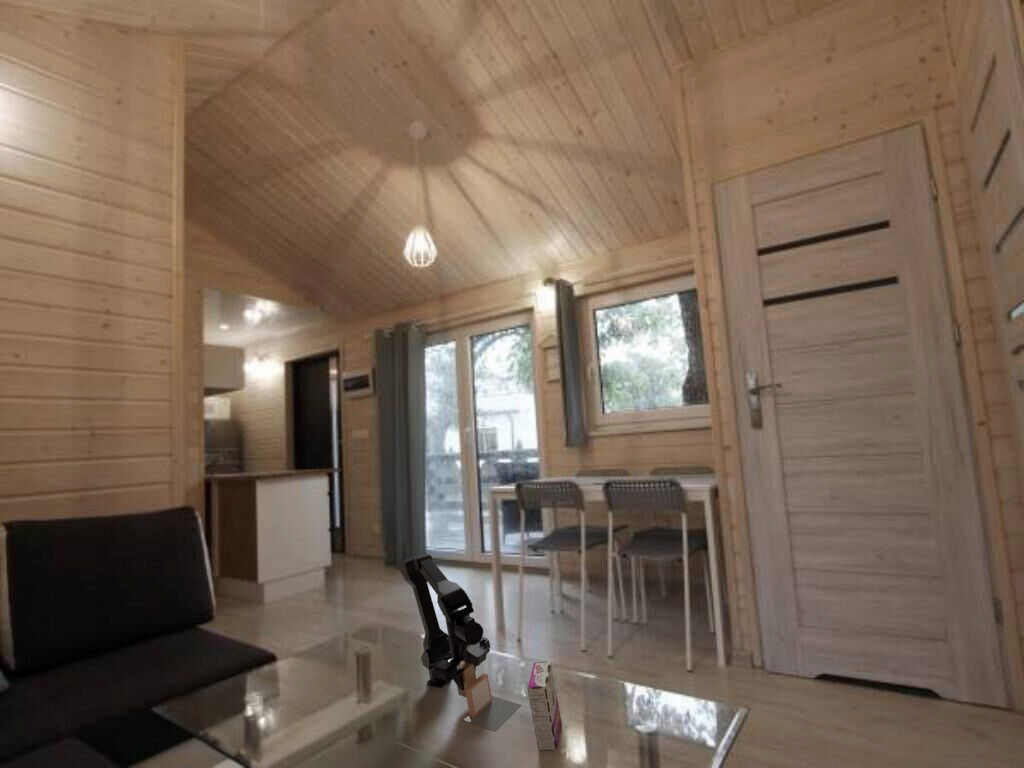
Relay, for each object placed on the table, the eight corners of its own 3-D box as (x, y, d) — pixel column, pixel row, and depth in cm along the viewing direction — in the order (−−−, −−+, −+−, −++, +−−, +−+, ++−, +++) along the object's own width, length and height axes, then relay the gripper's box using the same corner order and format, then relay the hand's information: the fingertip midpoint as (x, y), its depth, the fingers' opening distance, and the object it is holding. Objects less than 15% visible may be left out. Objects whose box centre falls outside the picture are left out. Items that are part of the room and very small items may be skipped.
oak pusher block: (458, 695, 158) (454, 667, 157) (467, 687, 161) (463, 660, 160) (469, 698, 155) (464, 670, 155) (478, 690, 158) (473, 663, 158)
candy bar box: (543, 721, 146) (533, 661, 146) (561, 721, 145) (551, 660, 145) (537, 751, 135) (526, 687, 135) (557, 751, 134) (546, 686, 134)
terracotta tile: (469, 716, 153) (465, 688, 153) (487, 699, 159) (483, 673, 159) (474, 718, 152) (469, 690, 152) (492, 701, 158) (487, 674, 158)
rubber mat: (462, 720, 152) (461, 719, 152) (489, 695, 162) (489, 694, 162) (495, 732, 145) (495, 731, 145) (521, 706, 154) (521, 704, 154)
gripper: (456, 654, 145) (466, 712, 146) (500, 621, 160) (508, 674, 160) (427, 647, 152) (436, 702, 152) (471, 616, 167) (480, 666, 167)
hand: (467, 685), depth 158 cm, fingers closed on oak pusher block, 4 cm apart
